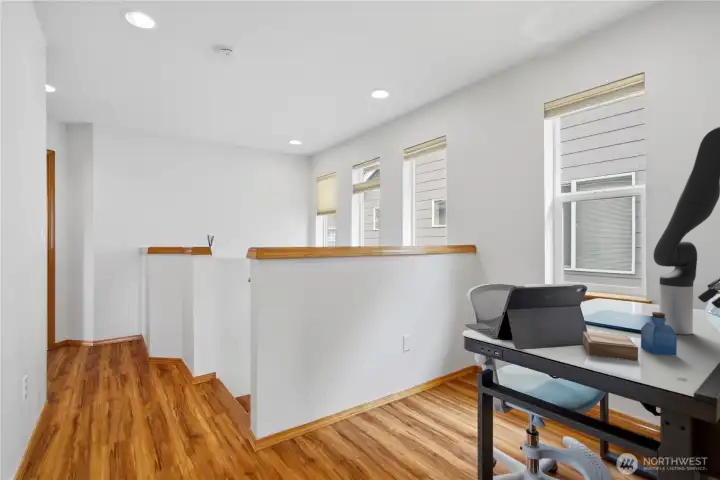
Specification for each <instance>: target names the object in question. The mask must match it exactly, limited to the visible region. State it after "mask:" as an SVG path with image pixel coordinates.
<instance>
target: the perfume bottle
mask: <svg viewBox="0 0 720 480" xmlns="http://www.w3.org/2000/svg"><path fill="white" fill-rule="evenodd" d="M651 313H652V315H651V316H650V317H651V318H650V319H651V320H652V321H647V322H645V324H643V326H641V329H640V348H641V349H642V350H644V351H646V352H648V353H650V354H651V355H658V356H659V355H661V356H677V355H678V354H677V353H678V351H677V349H678V348H677V347H678V343H677V341H678V339H677V338H678V336H677V335H678V334H676V333H675V332H674V331H673V329H672V328H671V326H669V325H667V324H665V321H666V318H665V314H664V313H659V312H657V311H653V312H651Z"/></svg>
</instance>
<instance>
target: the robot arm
mask: <svg viewBox="0 0 720 480" xmlns="http://www.w3.org/2000/svg"><path fill="white" fill-rule="evenodd" d="M719 199H720V126H717V127H715V128H712V129H710V130H709V131H707V132H706V134H704V136H703V137H702V138H701V141H700V143H699V146H698V150H697V153H696V157H695V160H694V164H693V166H692V169H691V172H690V175H689V176H688V179H687V180H686V183H685V185H684V187H683V189H682V192H681V194H680V196H679V198H678V201H677V202H676V205H675V208H674V210H673V213H672V216H671V218H670V220H669V222H668V223H667V226H666V228H665V230H664V231H663V233H662V235H661V237H660V238H659V239H658V242H657V243H656V245H655V247H654V250H653V260H654V263H655V264H656V265H658V266H661V267H668V268H669V267H671V268H672V267H673V268H674V269H673V270H672V271H670V272H669V273H666V274H664V275H661V276H660V277H659V310H658V311H659V313H664V314H665V318H666V321H665V324H667V325H669V326H671V328H672V329H673V331H674V332H675V333H676V335H686V336H687V335H693V333H694V332H693V331H694V327H693V326H694V282H695V280H696V278H697V277H696V275H697V267H698V266H697V265H698V250H697V247H696V246H695V244H693V243H692V242H690V241H682V240H683V239H684V237H685V236H686V235H688V233H690V232H691V231H692V230H694V229H696V228H697V227H698V226H699V225H701V224H702V223H703V222H705V221H706V220H707V219H708V218H709V217H711V215H712V213H713V212H714V209H715V207H716V205H717V203H718V201H719ZM706 286H707V290H705V291H704V292H702V293H700V295H698V296H697V299H699V300H700V301H701V302H703V303H707V302H708V301H710V300H711V299H713V298H714V297H716V295H719V294H720V276H719V277H718V278H716V279H715V280H713V281H712V282H711V283H709V284H708V285H706ZM711 305H712V306H713V307H715V308H717V309H720V296H718V297H717V298H715V299H714V300H713V301H711Z"/></svg>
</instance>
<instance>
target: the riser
mask: <svg viewBox="0 0 720 480" xmlns="http://www.w3.org/2000/svg"><path fill="white" fill-rule="evenodd" d="M582 345H583V347H584V348H585V350H586V352H587V354H588V356H593V357H601V358H608V357H609V359H617V358H619V359H620V360H625V359H628V360H627V361H636V362H639V346H638V345H637V344H636V343H635V342H633V340H632V339H630V338H629V336H628V335H625V334H615V333H605V332H604V333H603V332H594V331H593V332H592V331H582Z"/></svg>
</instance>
